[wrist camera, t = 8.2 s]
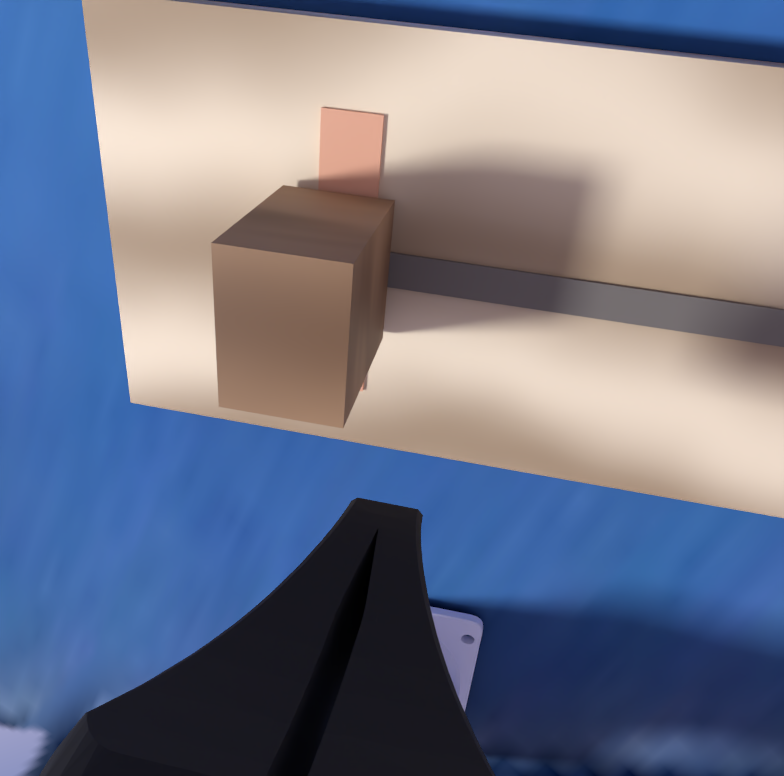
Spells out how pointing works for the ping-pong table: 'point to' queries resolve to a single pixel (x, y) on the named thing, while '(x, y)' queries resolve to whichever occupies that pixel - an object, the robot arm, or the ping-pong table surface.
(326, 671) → the robot arm
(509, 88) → the fader panel
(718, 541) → the ping-pong table surface
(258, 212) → the fader knob
